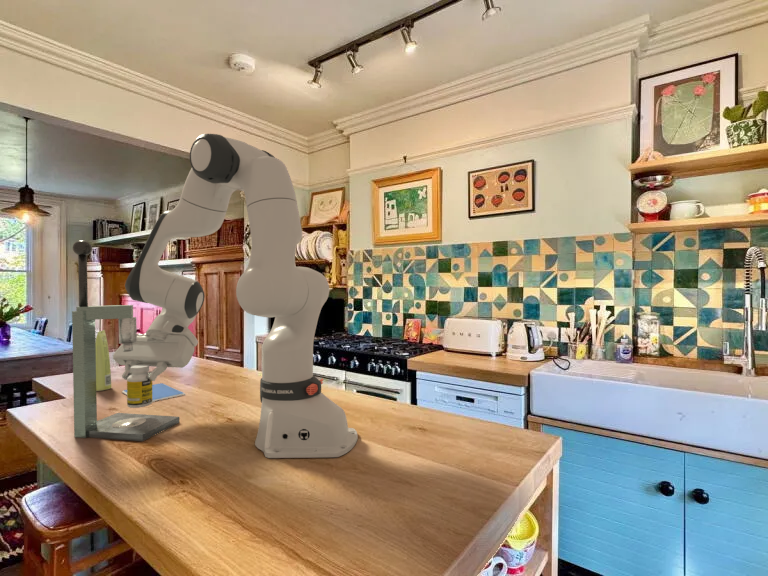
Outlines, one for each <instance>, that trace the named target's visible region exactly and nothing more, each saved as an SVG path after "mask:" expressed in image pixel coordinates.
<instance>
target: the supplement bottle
mask: <svg viewBox="0 0 768 576" xmlns="http://www.w3.org/2000/svg"><path fill="white" fill-rule="evenodd" d="M148 372H150V366H149V365H135V366H132V367H130V373H132V374H131V375H130V376H129V377H128V378H127V380H126V390H127V395H126V396H127V397H126V398H127V399H126V403H127V405H126V406H127V407H128V408H130V409H131V408H133V409H137V408H144V407H147V406H150V405H151V404H153V402H152V385H153V381H148V379H146V376H147V375H148Z"/></svg>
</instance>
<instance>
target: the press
mask: <svg viewBox="0 0 768 576" xmlns="http://www.w3.org/2000/svg"><path fill="white" fill-rule="evenodd" d="M72 250H73V252H74V253H75V255H77V260H78V262H77V263H78V306H76V310H72V311H71V321H72V322H71V326H72V327H71V328H72V329H71V330H72V333H71V334H72V375H73V376H72V380H73V381H72V382H73V385H72V387H73V421H74V422H73V429H74V430H73V433H74V434H73V435H74V438H78V439H79V438H81V439H87V438H93V439H95V438H96V439H105V440H118V441H119V440H120V441H135V442H144V441H146V440H149V439H150V438H152V437H154V436H156V435H158V434H160V433H162V432H164V431H166V430H168V429H170V428H171V427H174V426H175V425H178V424H179V423H180V416H177V415H176V416H175V415H159V414H158V415H157V414H142V413H138V414H137V413H129V412H128V413H127V412H115V413H114V414H111V415H109V416H107V417H103V418H100V419H98V413H97V409H98V407H97V391H96V320H115V319H118V344H120V345H121V344H123V352H128V351H133V343H136V342H137V334H138V331H137V317H136V316H134V304H124V305H122V304H119V305H118V304H116V305H115V304H114V305H113V304H111V305H89V303H88V300H89V293H88V256H89V255H90V254H91V253H92V252H93V246H92V244H91V243H90V242H88V241H87V240H77V241H75V242H74V243H73V244H72ZM163 430H164V431H163ZM161 431H162V432H161ZM159 432H160V433H159ZM157 433H158V434H157ZM155 434H156V435H155ZM153 435H154V436H153ZM151 436H152V437H151Z"/></svg>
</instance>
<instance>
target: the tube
mask: <svg viewBox="0 0 768 576" xmlns="http://www.w3.org/2000/svg"><path fill="white" fill-rule="evenodd" d="M95 343H96V392H100V391H107V390H110V389H111V388H112V374H111V373H112V371H111V363H110V362H111V360H110V351H109V344H108V338H107V334H106V329H102V330H100V331H97V334H96V336H95Z"/></svg>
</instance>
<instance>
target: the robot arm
mask: <svg viewBox="0 0 768 576" xmlns="http://www.w3.org/2000/svg"><path fill="white" fill-rule="evenodd" d="M190 147H191V148H190V150H189V162H190V167H191V168H190V170H189V172H188V175H187V176H186V179H185V182H184V185H183V187H182V191H181V194H180V197H179V200H178V202H177V204H176V205H175V207H174V208H173V209H171V210H166V211H164V212H163V213H161V215H160V216H159V217H158V218H157V220H156V222H155V224H154V225H153V227H152V230H151V231H150V233H149V235H148V237H147V239H146V242H145V244H144V246H143V248H142V250H141V252H140V254H139V257H138V259H137V261H136V262H135V264H134V266H133V268H132V269H131V271H130V272H129V274H128V276H127V277H126V280H125V284H124V287H125V290H126V292H127V294H128V296H129V297H130V299H131V300H133V301H137V302H140V303H145V304H150V305H153V306H157V307H160V308H162V309H161V312H160V313H159V314H158V315H157V316H156V317H155V318H154V320H153V321H152V323H151V324H150V325H149V327H148V328H147V329H146V332H145V333H137V342H136V343H133V351H128V352H123V344H120V345H119V347H118V348H117V349H116V350H115V352H114V353H113V355H112V359H113V361H114V362H116V363H117V365H119V366H124V372H123V374H122V375H121V378H122V379H123V380H126V381H127V378H128V377H129V376H130V375H131V374H132V373H130V367H132V366H135V365H149V367H153V368H154V367H155V368H154V369H153V370H152V371H148V375H147V376H146V379H148V381H152V382H155V381H156V379H157V378H158V376H160V375H161V374H162V373H163V372H165V371H166V370H167V368H179V369H181V368H182V369H183V368H184V367H187V365H188V364H189V363H190V362H191V360H192V357H193V355H194V354H195V350H196V348H195V347H197V345H198V344H199V340H198V339H197V336H196V335H194V333H193V332H192V331H191V329H189V326H190V325H191V324H192V323H194V320H195V319H196V318H197V315H198V314H199V312H200V310H201V308H202V307H203V304H204V301H205V291H204V288H203V287H202V285H201V284H200V282H199V281H197V280H196V279H193V278H189V277H187V276H184V275H180V274H177V273H174V272H171V271H168V270H165V269H162V268H161V267H160V265H159V263H160V260H161V258H162V256H163V254H164V253H165V250H166V248H167V246H168V244H169V242H170V241H171V239H175V238H200V237H201V238H202V237H207V236H209V235H213V234H214V233H216V232H217V231H218V230H220V228H221V227H222V225H223V223H224V221H225V218H226V215H227V212H228V208H229V205H230V200H231V197H232V194H234V192H236V191H242V192H243V193H244V196H245V198H244V199H245V205H246V210H247V216H248V217H247V218H248V223H249V231H250V238H251V247H250V248H251V250H250V258H249V261H248V265H247V268H246V269H245V271H243V273H242V274H240V276H239V278H238V281H237V284H236V290H235V293H236V294H235V296H236V300H237V302H238V304H239V306H240V307H241V309H242V310H243V311H244V312H246V313H247V314H249V315H250V316H251V315H252V316H256V317H261V318H274V321H273V324H272V327H271V329H270V332H269V333H268V334H267V336H266V337H265V338H264V340H263V342H262V345H261V375H262V376H261V378H260V380H259V381H260V385H259V386H260V387H259V398H260V403H261V406H260V407H261V408H260V419H259V425H258V428H257V429H258V430H257V434H256V438H255V441H254V446H255V447H256V448H257V449H258V450H261V452H263V454H264V456H265V458H266V459H267V458H268V459H291V458H292V459H293V458H294V459H296V458H297V459H299V458H303V459H306V458H310V459H311V458H339V457H341V456H343V455H344V456H345V455H346V454H347V453H348V452H350V451H351V450H352V449H353V448H354V447H355V446H356V444H357V442H358V431H357V430H356V429H355V428H353V427H349V425H348V418H347V415H346V412H345V410H344V409H343V408H342V407H341V406H340V405H338V404H337V403H335V401H333V400H331V399H330V398H329V397H328V396H326V395H325V394H324V393H322V384H324V378H321V379H319V378H317V377H316V376H315V375H314V339H315V334H316V329H317V325H318V321H319V317H320V314H321V312H322V311H321V310H322V308H323V306H324V305H325V303H326V302H327V300H328V298H329V296H330V285H329V283H328V280H327V278H326V277H325V275H324V274H323V273H321V272H319V271H317V270H315V269H314V268H310V267H306V266H296V249H297V245H298V244H299V243H300V242H301V241H302V238H303V229H302V223H301V219H300V213H299V205H298V201H297V196H296V192H295V189H294V185H293V181H292V178H291V175H290V173H289V170H288V167H287V166H286V164H285V163H284V162H283V161H282V160H281V159H279V158H277V157H275V156H274V155H273V154H271V153H270V152H267V150H261V149H259V148H257V147H255V146H253V145H251V144H248V143H247V142H245V141H242V140H238V139H234V138H230V137H225V136H223V135H221V134H218V133H203V134H200V135H199V136H198V137H197V138H196V139H195V140H194V142H193V143H192V145H191V146H190Z"/></svg>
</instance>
